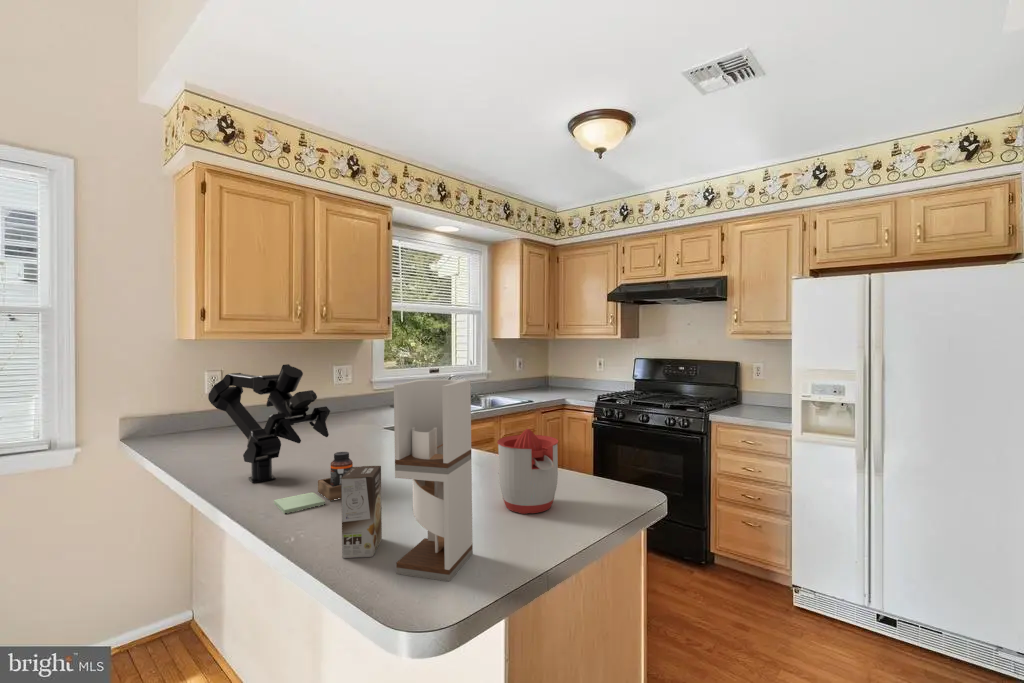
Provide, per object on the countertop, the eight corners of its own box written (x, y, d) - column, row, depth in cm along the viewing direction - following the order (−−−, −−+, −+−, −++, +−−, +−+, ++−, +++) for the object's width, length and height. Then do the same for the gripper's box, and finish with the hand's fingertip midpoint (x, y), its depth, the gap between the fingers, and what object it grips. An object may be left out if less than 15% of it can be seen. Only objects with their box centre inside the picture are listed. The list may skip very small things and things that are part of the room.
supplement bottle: (345, 497, 135) (345, 455, 135) (326, 495, 136) (325, 455, 136) (357, 490, 141) (356, 450, 141) (338, 489, 142) (337, 450, 142)
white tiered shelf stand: (424, 548, 102) (422, 379, 101) (472, 554, 98) (470, 380, 98) (396, 573, 91) (393, 384, 90) (449, 581, 88) (446, 385, 87)
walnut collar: (317, 492, 139) (317, 480, 139) (352, 485, 145) (352, 473, 145) (330, 501, 131) (330, 488, 131) (366, 493, 138) (365, 480, 138)
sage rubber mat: (274, 503, 130) (274, 500, 130) (313, 495, 136) (312, 492, 136) (284, 514, 122) (284, 510, 122) (325, 504, 128) (325, 501, 128)
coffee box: (374, 557, 98) (373, 477, 97) (341, 559, 97) (340, 478, 97) (382, 538, 107) (381, 464, 106) (352, 539, 106) (351, 465, 106)
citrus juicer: (519, 525, 113) (518, 438, 113) (488, 502, 129) (487, 426, 128) (575, 513, 121) (574, 431, 120) (539, 493, 136) (538, 421, 136)
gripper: (265, 386, 135) (295, 422, 129) (322, 380, 152) (351, 412, 145) (252, 416, 139) (280, 454, 133) (309, 408, 155) (336, 440, 149)
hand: (314, 439), depth 140 cm, fingers open, 9 cm apart
